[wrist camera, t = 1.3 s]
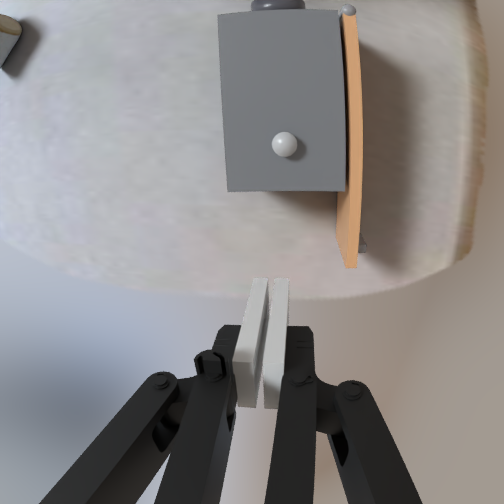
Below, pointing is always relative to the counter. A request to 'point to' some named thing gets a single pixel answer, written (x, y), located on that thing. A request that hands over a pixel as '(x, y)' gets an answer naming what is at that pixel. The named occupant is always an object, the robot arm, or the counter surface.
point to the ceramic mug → (8, 35)
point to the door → (351, 144)
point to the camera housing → (282, 98)
